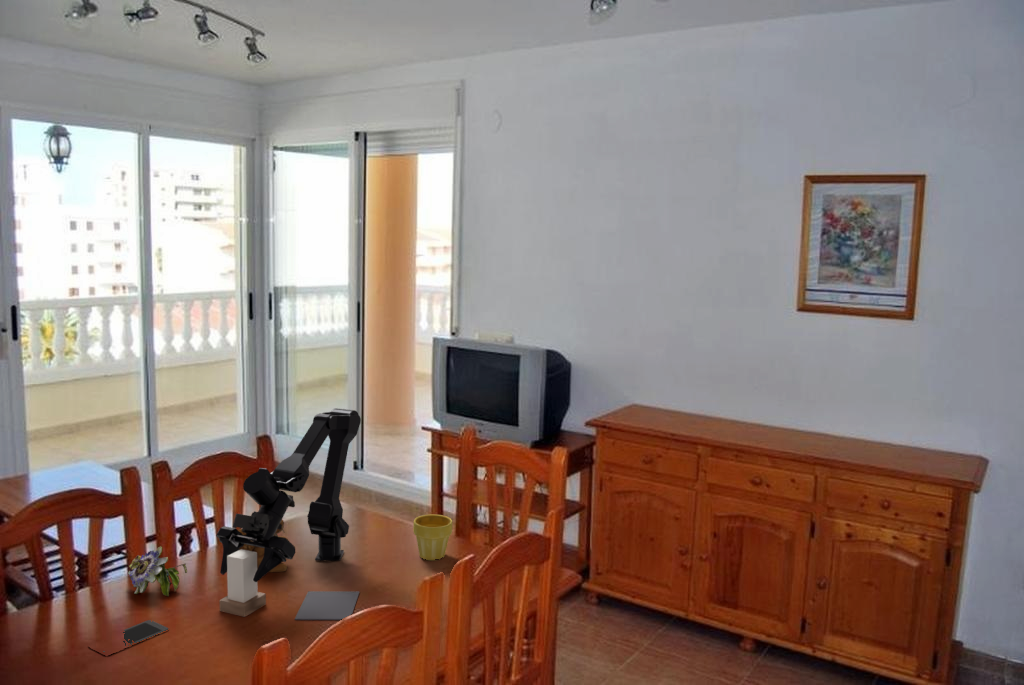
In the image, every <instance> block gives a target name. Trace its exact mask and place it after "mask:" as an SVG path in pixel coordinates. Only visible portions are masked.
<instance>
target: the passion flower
mask: <svg viewBox="0 0 1024 685" xmlns="http://www.w3.org/2000/svg"><path fill="white" fill-rule="evenodd" d="M162 553H163V547H162V546H161V545H160V546H158V547H157V549H156V550H154V549H153V550H149V551H148V552H145V554H142V555H136V556H135V557H134V558H133V559H132V561H131V562H130V565H129V568H130V569H129V571H128V572H127V574H128V575H129V578H130V580H131V584H132V585H133V586H132V587H133V588H136V589H135V590H134V593H133V594H135V595H138V594H139V593H141V594H142V593H144V592H146V590H147V589H148V586H149V583H150V584H152V583H153V584H154V583H155V582H156V581H157V583H158V584H159V586H160V589H161V593H162V595H163V596H166V597H169V596H170V594H169V593H170V589H171V585H170V584H172V586H173V589H174V591H177V589H178V587H179V585H180V577H179V575H180V572H179V570H177V569H176V568H178V567H183V569H184V573H185V574H187V573H188V569H187V565H186V564H187V563H181V564H179V565H176V566H174V567H173V566H172V567H169V568H166V565H165V564H166V563H167V562H168V561H169V558H168V556H166V557H165V556H163V557H160V556H161V555H162Z"/></svg>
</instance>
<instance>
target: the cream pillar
mask: <svg viewBox="0 0 1024 685" xmlns="http://www.w3.org/2000/svg"><path fill="white" fill-rule="evenodd" d="M256 571H257V552H253V551H248V550H243V549H240V550H238V551H236V552H234V553H232V554H230V555H228V556H227V572H226V574H227V580H226V581H227V596H228V599H230V600H234V601H238V602H243V603H244V602H246V601H248V600H250V599H251V598H253V597H255V596H256V595H258V592H259V591H258V588H259V587H258V581H257V582H255V581H253V579H254V576H255V573H256Z"/></svg>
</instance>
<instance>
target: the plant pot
mask: <svg viewBox="0 0 1024 685" xmlns="http://www.w3.org/2000/svg"><path fill="white" fill-rule="evenodd" d="M412 529H413V534H414V536H416V543H417V548H418V554H419V555H418V556H419V557H420V558H421V559H422V558H423V560H425V559H426V560H425V561H436V560H435V559H439V560H441V559H440V558H442V557H443V558H444V557H445V556H446V550H447V547H448V542H449V538H450V536H451V535H452V533H453V520H452V519H451V517H449V516H446V515H442V514H423V515H419V516H417V517H415V518H414V520H413V526H412ZM443 558H442V559H443Z"/></svg>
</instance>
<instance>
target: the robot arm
mask: <svg viewBox="0 0 1024 685" xmlns="http://www.w3.org/2000/svg"><path fill="white" fill-rule="evenodd" d="M361 421H362V420H361V416H360V415H359V412H358V411H357V410H353V409H347V408H346V409H345V408H338V407H337V408H333V409H332V410H331V411H326V412H325V411H324V412H322V413H316V414H315V415H314V416H313V420H312V423H311V425H310V426H309V428H308V430H307V431H306V432H305V434H304V436H303V437H302V438H301V440H300V442H299V443H298V445H297V446H296V448H295V449H294V451H293V453H291V455H290V456H288V457H286V458H284V459H283V460H281V461H280V463H279V464H278V465H277V466H276V467H275V469H274V470H273V471H272V472H270V471H269V470H268V469H267V468H263V467H259V469H258V471H256V472H254V473H251V474H250V475H249V476H248V477H247V478H245V480H244V481H243V485H242V486H243V488H242V489H243V492H245V493H246V494H247V495H248V496H249V497H250V498H251V499H252V500H253V501H254V502H255V503H257V505H258V506H260V507H259V510H258V511H253V512H252V513H251V515H248V514H247V515H246V514H243V513H235V516H234V519H233V524H232V526H225V525H223V526H222V527H220V528H219V529H218V531H217V533H216V535H215V536H216V537H217V538H218V540H219V542H220V543H221V544H222V560H221V567H220V572H219V573H220V574H221V575H223V576H224V575H225V574H227V556H228V555H230V554H232V553H234V552H236V551H238V550H240V549H239V548H241V547H243V546H244V544H246V545H251V546H256V547H261V548H264V557H263V559H262V561H261V563H260V565H259V567H258V569H257V571H256V573H255V576H254V579H253V581H255V582H257V583H258V582H259V581H260V580H261V579H263V577H264V576H266V575H267V574H268V573H270V572H269V571H271V570H272V569H273V568H275V567H276V566H277V565H279V564H280V563H286V562H287V560H293V558H294V556H295V554H296V546H295V545H294V544H293V543H292V542H291V541H290V540H289V539H288V538H287V537H286V538H287V539H288V540H289V541H288V540H287V539H286V538H283V537H278V536H279V535H278V536H274V534H275V532H276V530H277V529H279V530H281V528H282V525H281V524H280V522H281V520H283V519H284V516H285V514H286V511H288V508H289V507H290V508H295V505H296V502H295V501H294V496H293V495H290V494H288V493H287V492H293V493H299V492H301V491H302V490H303V489H304V487H305V485H306V483H307V481H308V478H309V477H310V466H311V465H312V464H311V463H312V462H313V460H314V459H315V458H316V456H317V454H318V452H319V451H320V449H321V448H322V446H323V444H324V443H325V441H326V439H327V437H328V438H329V446H328V451H327V456H326V461H325V468H324V474H323V478H322V482H321V483H322V484H321V488H320V494H319V496H318V497H317V499H316V500H315V501H311V502H310V504H309V510H308V514H307V516H306V517H307V526H308V528H309V530H310V534H311V535H316V536H317V538H318V539H317V540H318V552H317V554H316V556H315V558H314V561H315V562H319V561H320V562H340V561H341V560H342V558H343V555H344V552H345V551H344V549H342V548H341V547H342V544H341V543H342V542H341V540H342V538H346V537H347V535H348V534H349V530H350V525H349V524H348V522H346V520H345V519H344V518H343V515H344V514H343V513H344V512H343V511H344V510H343V506H342V503H341V500H340V494H341V487H342V482H343V479H344V474H345V466H346V462H347V458H348V457H347V456H348V452H349V446H350V444H351V443H352V441H353V440H354V439H355V438H356V436H357V435H358V431H359V428H360V425H361ZM285 491H286V492H285ZM237 528H239V529H242V530H241V531H242V532H244V533H246V535H242V534H241V533H240V532H239V531H238V530H239V529H237Z"/></svg>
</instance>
